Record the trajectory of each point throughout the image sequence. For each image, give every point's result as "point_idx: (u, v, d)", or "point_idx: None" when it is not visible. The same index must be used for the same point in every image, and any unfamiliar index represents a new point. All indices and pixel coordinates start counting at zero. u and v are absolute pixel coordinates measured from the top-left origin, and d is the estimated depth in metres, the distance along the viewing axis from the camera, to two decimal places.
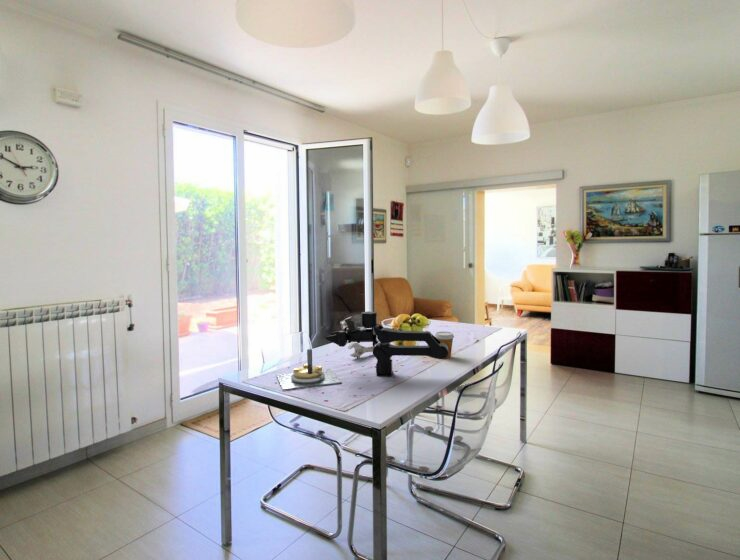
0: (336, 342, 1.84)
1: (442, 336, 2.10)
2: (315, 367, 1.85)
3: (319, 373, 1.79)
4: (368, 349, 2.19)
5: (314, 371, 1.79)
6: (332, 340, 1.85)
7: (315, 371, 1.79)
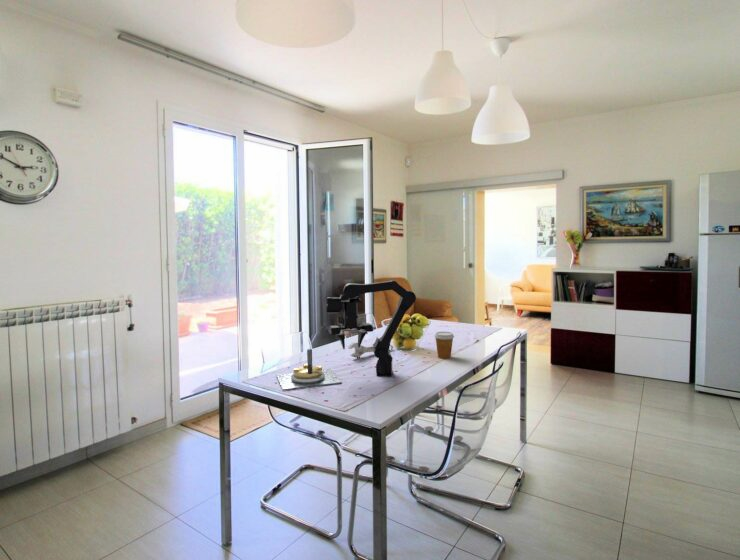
0: (340, 337, 1.82)
1: (442, 336, 2.10)
2: (315, 367, 1.85)
3: (319, 373, 1.79)
4: (368, 349, 2.19)
5: (314, 371, 1.79)
6: (341, 341, 1.83)
7: (315, 371, 1.79)
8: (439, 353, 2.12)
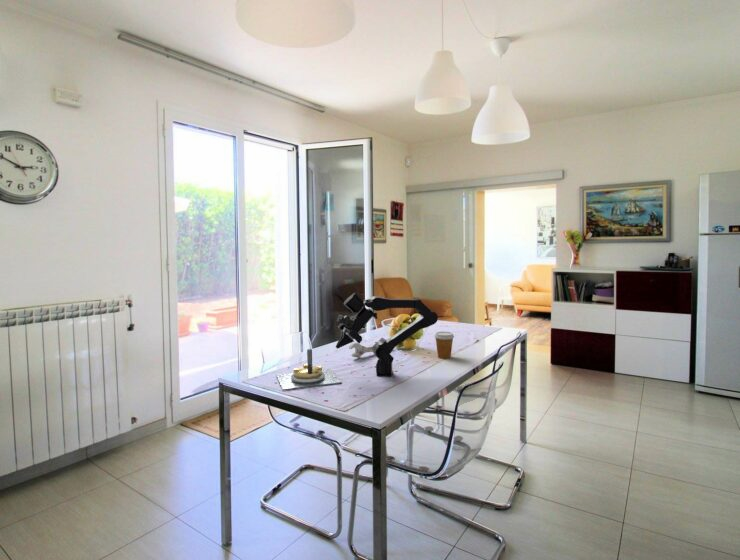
0: (349, 341, 1.80)
1: (442, 336, 2.10)
2: (315, 367, 1.85)
3: (319, 373, 1.79)
4: (369, 349, 2.19)
5: (314, 371, 1.79)
6: (344, 343, 1.80)
7: (315, 371, 1.79)
8: (439, 353, 2.12)
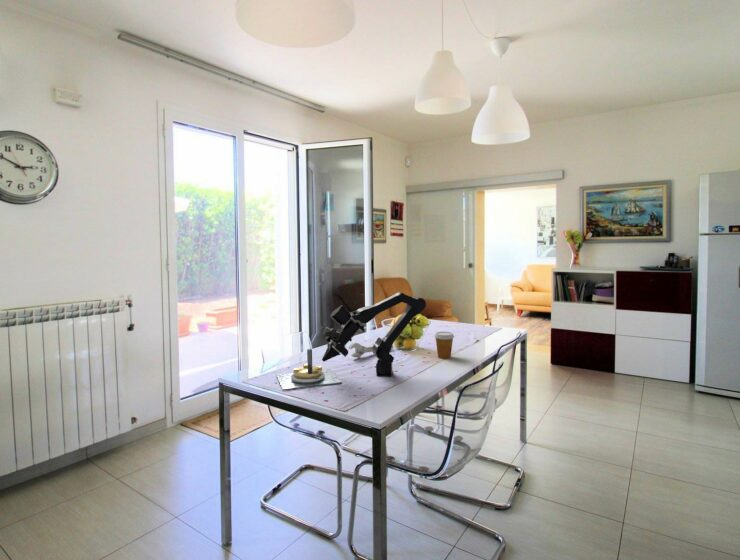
0: (335, 354, 1.79)
1: (442, 336, 2.10)
2: (315, 367, 1.85)
3: (319, 373, 1.79)
4: (369, 349, 2.19)
5: (314, 371, 1.79)
6: (330, 356, 1.79)
7: (315, 371, 1.79)
8: (439, 353, 2.12)
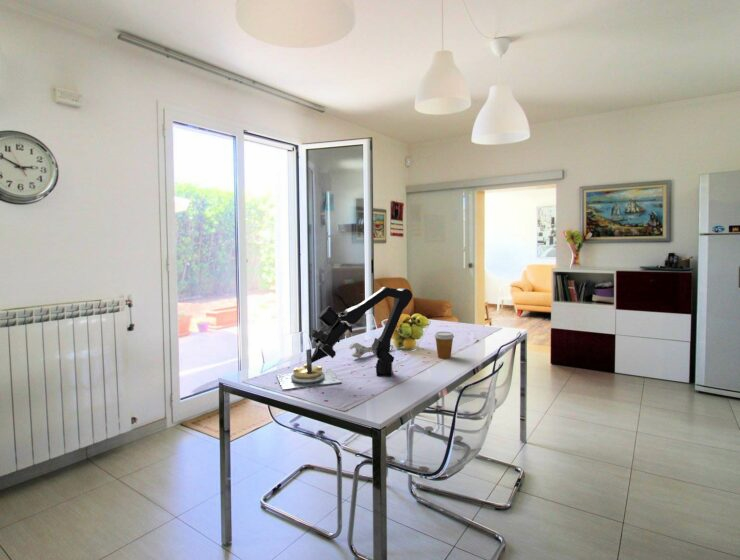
0: (323, 355, 1.77)
1: (442, 336, 2.10)
2: (315, 367, 1.85)
3: (318, 373, 1.79)
4: (369, 349, 2.19)
5: (314, 371, 1.79)
6: (318, 358, 1.77)
7: (315, 371, 1.79)
8: (439, 353, 2.12)
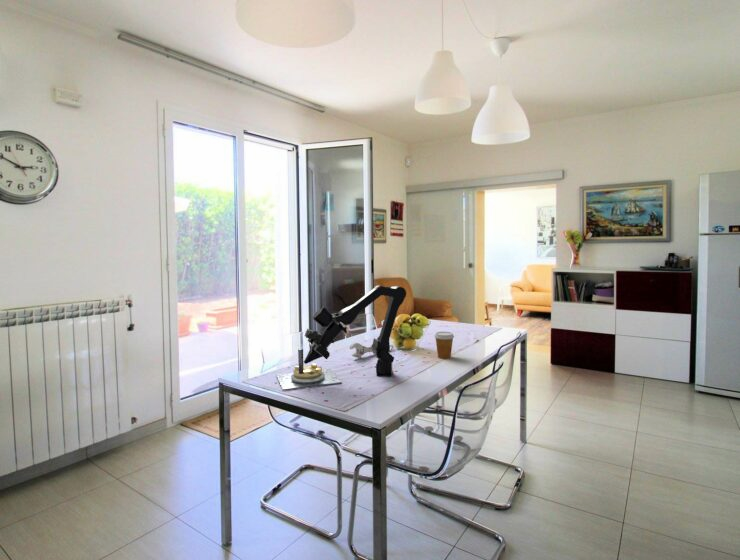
0: (317, 356, 1.77)
1: (442, 336, 2.10)
2: None
3: (310, 375, 1.76)
4: (369, 349, 2.19)
5: (308, 372, 1.78)
6: (312, 358, 1.77)
7: (308, 372, 1.78)
8: (439, 353, 2.12)
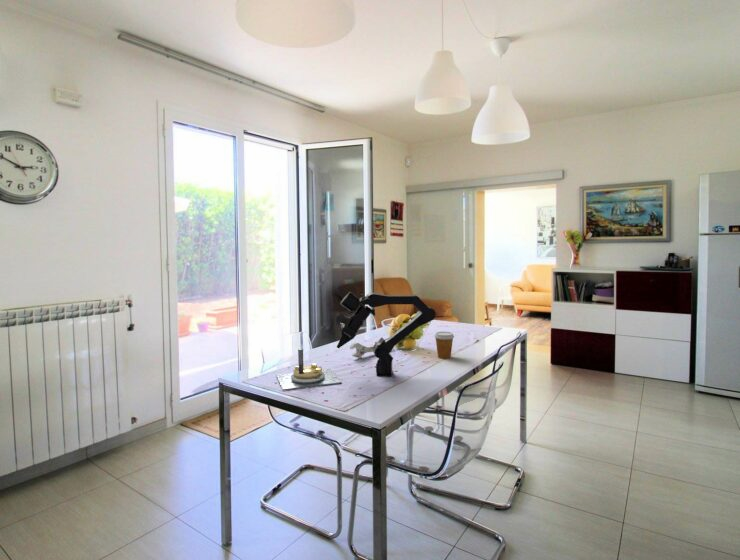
0: (348, 340, 1.81)
1: (442, 336, 2.10)
2: None
3: (310, 375, 1.76)
4: (369, 349, 2.19)
5: (308, 372, 1.78)
6: (344, 342, 1.82)
7: (308, 372, 1.78)
8: (439, 353, 2.12)
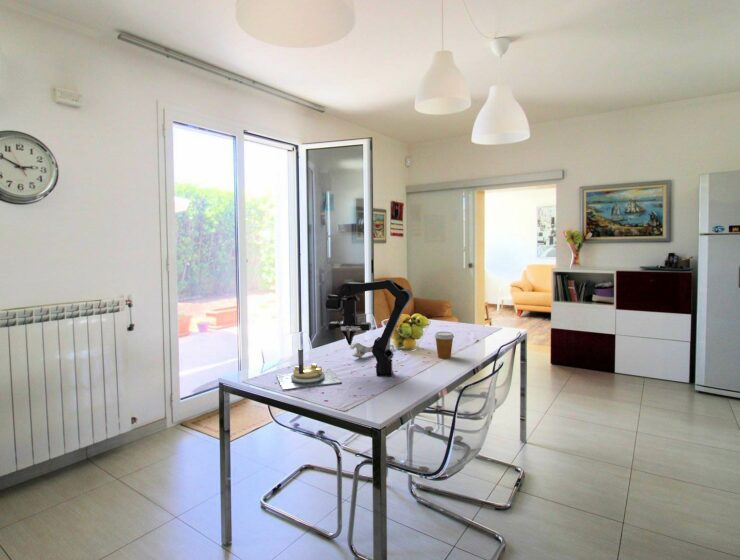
0: None
1: (442, 336, 2.10)
2: None
3: (310, 375, 1.76)
4: (370, 349, 2.19)
5: (308, 372, 1.78)
6: None
7: (308, 372, 1.78)
8: (439, 353, 2.12)
